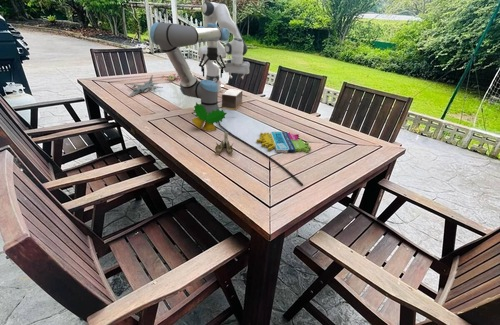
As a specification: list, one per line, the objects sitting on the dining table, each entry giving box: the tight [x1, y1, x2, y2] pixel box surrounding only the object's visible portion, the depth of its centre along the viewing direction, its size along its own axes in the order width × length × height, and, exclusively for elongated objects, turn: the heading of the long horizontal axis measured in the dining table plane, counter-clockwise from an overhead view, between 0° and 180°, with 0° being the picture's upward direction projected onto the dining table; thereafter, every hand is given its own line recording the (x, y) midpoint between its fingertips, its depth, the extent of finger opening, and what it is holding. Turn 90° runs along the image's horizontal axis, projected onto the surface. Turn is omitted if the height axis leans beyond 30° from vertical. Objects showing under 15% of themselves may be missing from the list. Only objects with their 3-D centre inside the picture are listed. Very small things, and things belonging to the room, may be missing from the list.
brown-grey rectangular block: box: [221, 88, 243, 111], centre depth 207 cm, size 19×11×11 cm, turn 167°
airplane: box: [127, 74, 164, 98], centre depth 227 cm, size 38×31×10 cm
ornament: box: [191, 102, 228, 132], centre depth 162 cm, size 21×8×15 cm, turn 105°
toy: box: [161, 73, 181, 82], centre depth 279 cm, size 28×7×30 cm
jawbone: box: [214, 131, 234, 156], centre depth 136 cm, size 9×15×10 cm
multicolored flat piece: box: [256, 131, 312, 154], centre depth 152 cm, size 26×2×30 cm
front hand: (212, 76), depth 202 cm, fingers open, 13 cm apart
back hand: (236, 78), depth 213 cm, fingers open, 8 cm apart
